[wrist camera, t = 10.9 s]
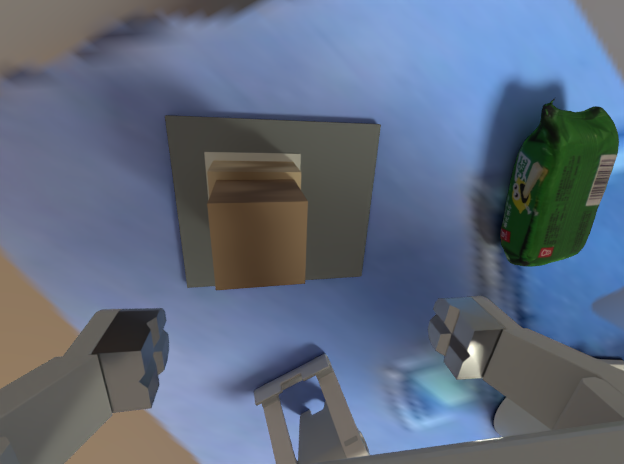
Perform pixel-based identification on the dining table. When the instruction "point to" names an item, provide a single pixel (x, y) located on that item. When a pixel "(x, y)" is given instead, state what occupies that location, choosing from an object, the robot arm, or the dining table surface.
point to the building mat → (314, 184)
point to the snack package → (558, 185)
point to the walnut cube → (257, 233)
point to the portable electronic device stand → (312, 419)
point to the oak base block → (252, 171)
